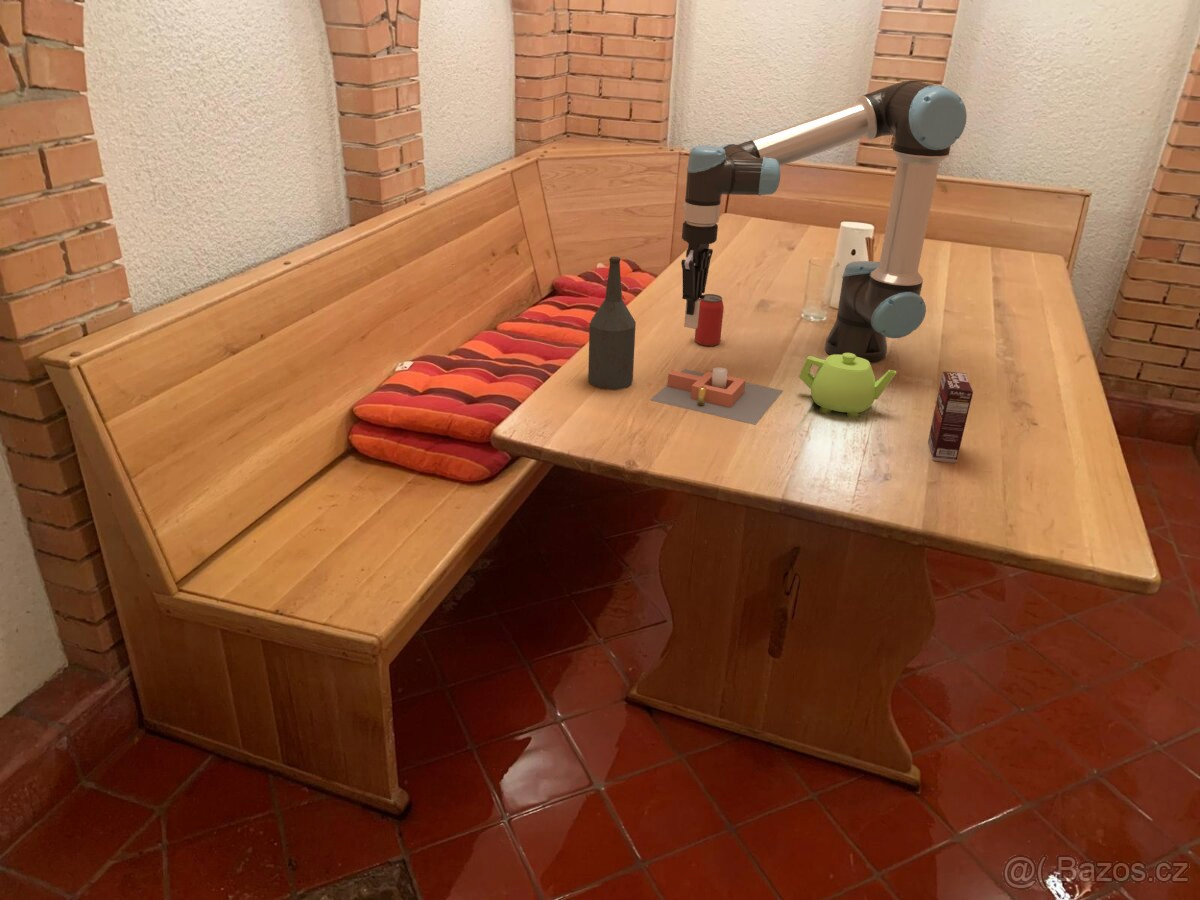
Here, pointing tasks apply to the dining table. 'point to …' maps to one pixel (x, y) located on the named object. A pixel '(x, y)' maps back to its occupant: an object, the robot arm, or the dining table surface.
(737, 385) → the square nut
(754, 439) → the dining table surface
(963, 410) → the supplement box
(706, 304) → the beer can
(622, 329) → the bottle
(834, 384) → the teapot
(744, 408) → the board
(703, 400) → the gold metal capsule
